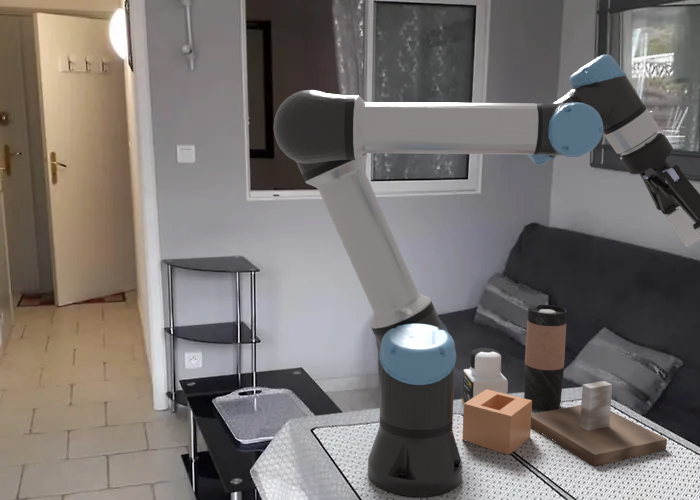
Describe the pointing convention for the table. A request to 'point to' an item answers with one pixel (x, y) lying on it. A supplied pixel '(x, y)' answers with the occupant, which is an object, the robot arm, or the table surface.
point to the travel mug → (545, 356)
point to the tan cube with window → (497, 421)
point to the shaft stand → (597, 429)
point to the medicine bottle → (483, 374)
